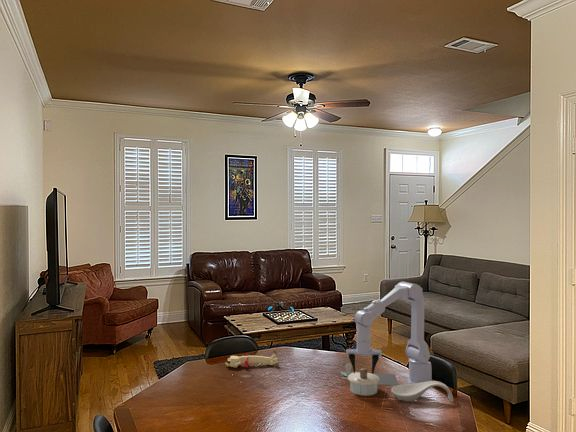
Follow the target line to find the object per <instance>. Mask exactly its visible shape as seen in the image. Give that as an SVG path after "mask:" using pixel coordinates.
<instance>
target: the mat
mask: <svg viewBox="0 0 576 432" xmlns="http://www.w3.org/2000/svg"><path fill="white" fill-rule="evenodd" d="M370 373H371V374H372V372H370ZM374 374H375V375H377V376H378V377H379V378H380V380H379V382H378V383H377V386H397V385H399V382H398V380H397V376H396V374H395V373H381V372H380V373H377V372H376V373H375V372H374Z"/></svg>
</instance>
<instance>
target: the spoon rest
mask: <svg viewBox="0 0 576 432" xmlns="http://www.w3.org/2000/svg"><path fill="white" fill-rule="evenodd" d="M433 387H439V388H441V389H443V390H445V391H446V392H447V398H448V400H449V402H451V403H454V396H453V394H452V391H451V390H450V388H449V387H448V386H447V385H446V384H445V383H443V382H441V381H439V380H438V381H437V380H432V381H427V382H422V383H414V384H410V383H405V384H404V383H403V384H398V385H393V387H391V393H392V395H393V397H395V398H396V399H398V400H400V401H402V402H407V403H410V402H411V403H412V402H415V401H417V400H418V399H419V398H420V397H421V396H422V395H423V394H424V393H426V392H427V391H428V390H429V389H431V388H433Z"/></svg>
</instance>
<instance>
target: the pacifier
mask: <svg viewBox="0 0 576 432" xmlns="http://www.w3.org/2000/svg"><path fill="white" fill-rule="evenodd" d="M344 369H345V372H344V371H339V372H340V374H341V378H342V379H347V380H348V375H350V374H352V373H354V371H352V370H353V366H352V363H351V362H347V363H345V366H344ZM355 373H357V371H356V370H355Z"/></svg>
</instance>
